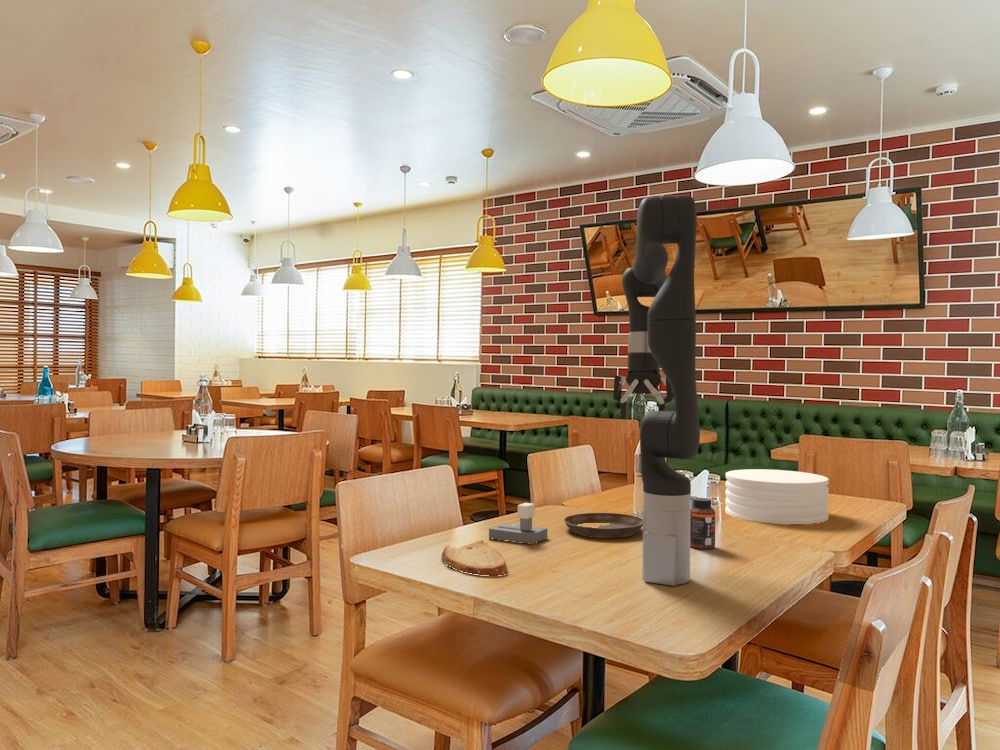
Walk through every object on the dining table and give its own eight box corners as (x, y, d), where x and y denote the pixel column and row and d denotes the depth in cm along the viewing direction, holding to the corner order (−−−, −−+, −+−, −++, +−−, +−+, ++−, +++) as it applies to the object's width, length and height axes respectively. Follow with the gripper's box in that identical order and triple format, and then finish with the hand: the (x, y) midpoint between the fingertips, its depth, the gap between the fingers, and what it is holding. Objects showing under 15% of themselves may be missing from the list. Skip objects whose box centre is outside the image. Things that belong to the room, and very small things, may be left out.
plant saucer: (547, 529, 185) (547, 517, 185) (603, 520, 197) (603, 508, 197) (604, 545, 168) (604, 531, 168) (661, 534, 181) (661, 521, 181)
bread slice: (502, 580, 139) (502, 561, 139) (420, 571, 146) (420, 553, 146) (529, 558, 156) (529, 541, 156) (454, 551, 162) (454, 534, 162)
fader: (527, 531, 169) (527, 506, 169) (517, 530, 170) (517, 505, 170) (534, 528, 172) (534, 503, 172) (525, 527, 174) (525, 502, 174)
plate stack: (718, 504, 222) (718, 468, 222) (811, 507, 218) (811, 470, 218) (734, 523, 194) (735, 481, 194) (842, 527, 191) (842, 484, 191)
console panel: (532, 545, 167) (532, 534, 167) (488, 538, 173) (489, 528, 173) (547, 538, 174) (547, 527, 174) (504, 532, 180) (504, 522, 180)
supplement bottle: (716, 550, 163) (716, 501, 163) (689, 549, 164) (690, 500, 164) (713, 544, 169) (714, 497, 169) (688, 543, 170) (688, 496, 170)
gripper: (610, 351, 168) (609, 419, 168) (669, 350, 161) (668, 421, 161) (620, 352, 175) (619, 417, 175) (677, 351, 168) (677, 420, 168)
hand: (643, 419), depth 168 cm, fingers open, 8 cm apart
